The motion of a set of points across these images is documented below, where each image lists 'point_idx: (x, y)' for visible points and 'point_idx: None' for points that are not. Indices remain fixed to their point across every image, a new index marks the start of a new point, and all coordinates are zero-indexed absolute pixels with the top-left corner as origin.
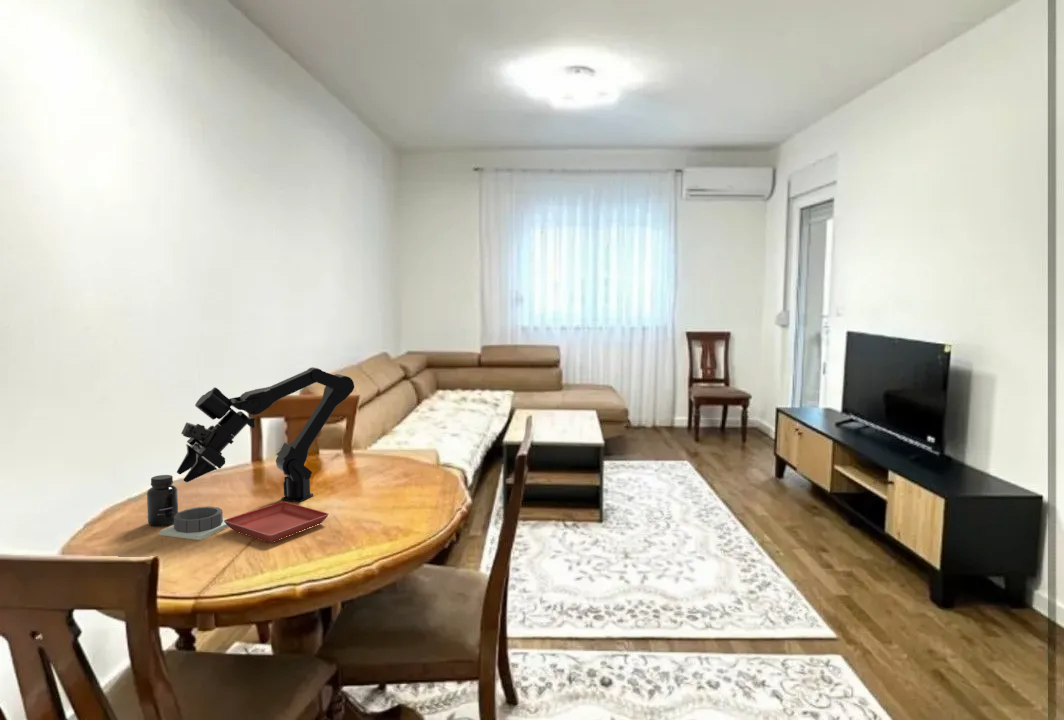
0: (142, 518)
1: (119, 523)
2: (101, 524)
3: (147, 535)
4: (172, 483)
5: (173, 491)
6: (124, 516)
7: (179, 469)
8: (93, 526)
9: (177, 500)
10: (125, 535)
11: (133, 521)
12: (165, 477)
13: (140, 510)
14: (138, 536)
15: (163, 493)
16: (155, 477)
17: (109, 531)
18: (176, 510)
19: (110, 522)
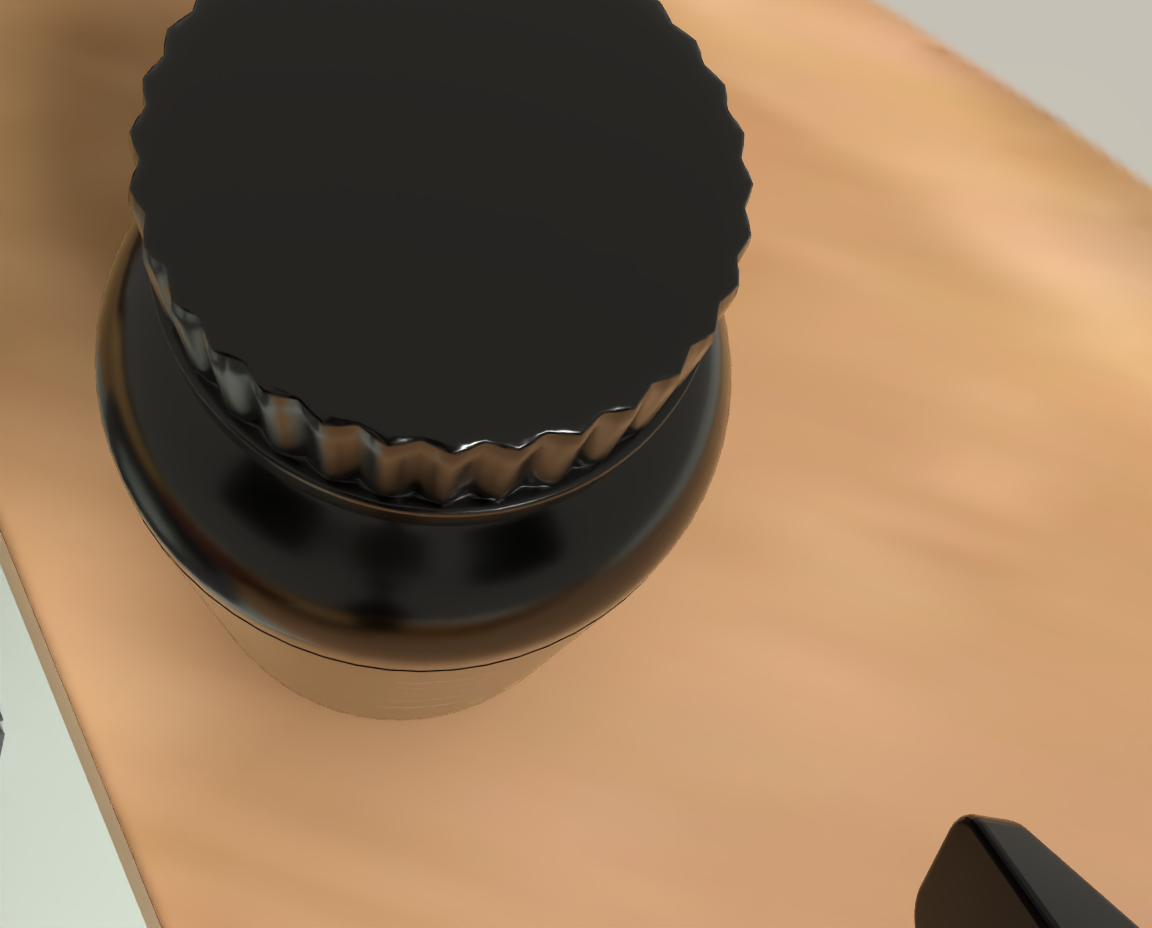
0: (789, 415)
1: (773, 187)
2: (863, 68)
3: (47, 224)
4: (261, 465)
5: (127, 485)
6: (1002, 307)
7: (1008, 912)
8: (847, 3)
9: (273, 656)
10: None
11: (741, 307)
12: (318, 207)
13: (1134, 508)
14: (106, 149)
15: (117, 253)
16: (554, 31)
17: None
18: (234, 638)
19: (874, 143)
